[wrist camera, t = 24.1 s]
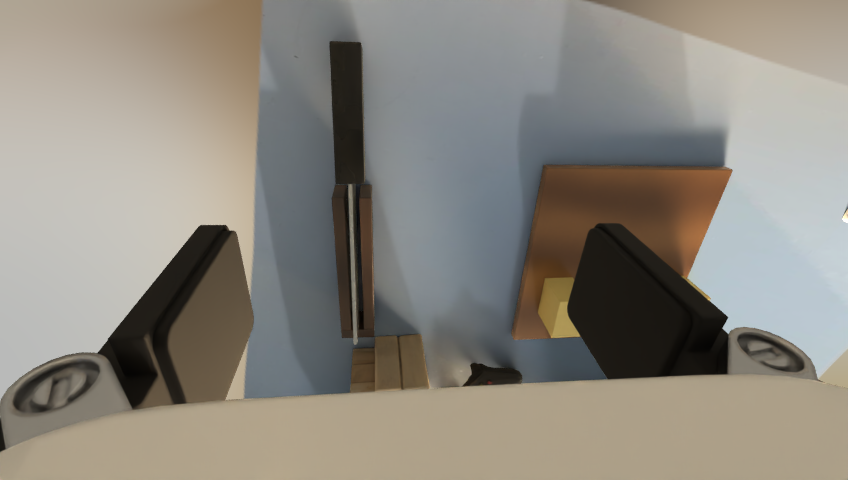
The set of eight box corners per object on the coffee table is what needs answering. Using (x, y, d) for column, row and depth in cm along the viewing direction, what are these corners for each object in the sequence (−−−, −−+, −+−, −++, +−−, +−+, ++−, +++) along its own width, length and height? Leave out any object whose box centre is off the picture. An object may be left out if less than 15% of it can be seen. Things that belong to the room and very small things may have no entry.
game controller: (479, 424, 52) (459, 445, 46) (451, 390, 54) (428, 407, 48) (528, 376, 48) (512, 393, 43) (496, 342, 50) (476, 355, 45)
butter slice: (544, 277, 41) (560, 301, 38) (572, 277, 42) (590, 300, 38) (537, 312, 43) (551, 338, 40) (564, 311, 44) (580, 336, 40)
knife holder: (335, 184, 35) (331, 197, 33) (371, 184, 36) (371, 197, 33) (344, 318, 43) (341, 338, 40) (374, 317, 43) (374, 337, 40)
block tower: (352, 331, 45) (364, 492, 58) (346, 391, 37) (362, 560, 50) (423, 328, 45) (419, 488, 58) (431, 386, 38) (425, 554, 51)
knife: (369, 320, 39) (368, 343, 35) (346, 320, 39) (342, 344, 35) (363, 51, 32) (361, 42, 28) (335, 50, 32) (329, 40, 28)
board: (543, 164, 36) (547, 168, 36) (725, 166, 38) (733, 169, 37) (511, 334, 46) (513, 340, 45) (657, 328, 48) (663, 334, 47)
